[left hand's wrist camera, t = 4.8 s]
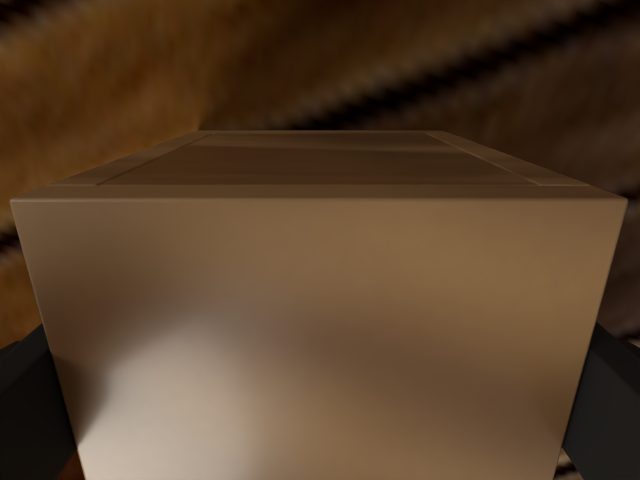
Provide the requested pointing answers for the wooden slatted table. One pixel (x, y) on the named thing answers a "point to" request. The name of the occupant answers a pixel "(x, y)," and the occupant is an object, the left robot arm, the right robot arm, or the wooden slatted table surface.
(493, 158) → the cabinet
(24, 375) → the left robot arm
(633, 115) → the wooden slatted table surface
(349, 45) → the wooden slatted table surface
